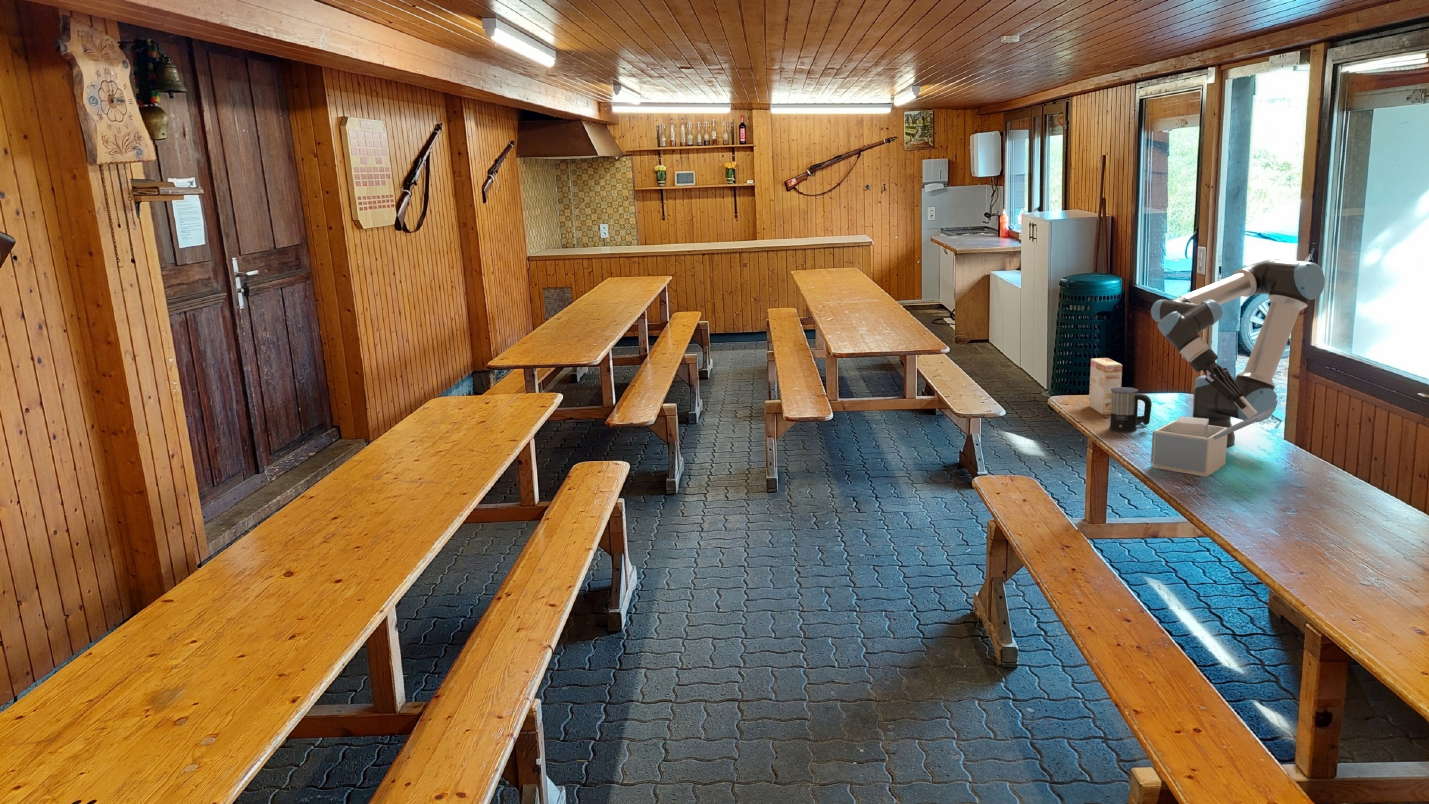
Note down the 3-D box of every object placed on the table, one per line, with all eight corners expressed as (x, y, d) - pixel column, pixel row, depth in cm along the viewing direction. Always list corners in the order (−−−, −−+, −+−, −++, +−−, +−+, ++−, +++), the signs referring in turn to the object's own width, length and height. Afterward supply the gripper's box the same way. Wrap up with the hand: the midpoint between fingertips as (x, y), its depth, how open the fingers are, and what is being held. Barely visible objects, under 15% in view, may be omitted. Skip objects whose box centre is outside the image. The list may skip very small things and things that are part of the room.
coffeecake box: (1120, 414, 379) (1123, 364, 374) (1101, 414, 379) (1104, 365, 374) (1106, 405, 393) (1108, 357, 389) (1088, 406, 393) (1090, 358, 389)
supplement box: (1202, 471, 306) (1206, 424, 302) (1171, 468, 310) (1174, 422, 307) (1206, 463, 313) (1209, 418, 310) (1175, 460, 318) (1178, 415, 314)
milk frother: (1109, 432, 355) (1112, 391, 351) (1105, 421, 369) (1107, 382, 366) (1152, 433, 351) (1155, 392, 347) (1146, 422, 365) (1149, 383, 362)
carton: (1148, 467, 312) (1150, 430, 309) (1170, 454, 324) (1172, 419, 321) (1205, 477, 300) (1208, 439, 297) (1226, 463, 312) (1229, 427, 309)
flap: (1213, 436, 297) (1257, 417, 288) (1230, 426, 308) (1273, 407, 298) (1214, 439, 297) (1259, 420, 287) (1231, 429, 308) (1275, 410, 298)
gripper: (1197, 359, 310) (1250, 418, 302) (1181, 366, 301) (1235, 427, 293) (1216, 344, 305) (1271, 404, 297) (1201, 351, 296) (1256, 412, 288)
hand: (1253, 415), depth 295 cm, fingers closed
